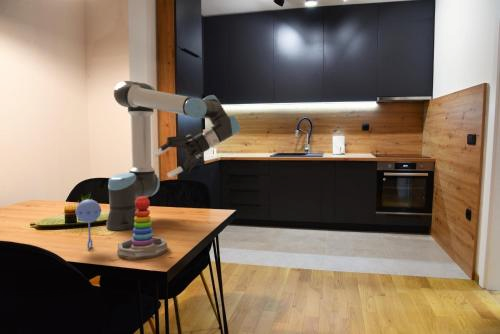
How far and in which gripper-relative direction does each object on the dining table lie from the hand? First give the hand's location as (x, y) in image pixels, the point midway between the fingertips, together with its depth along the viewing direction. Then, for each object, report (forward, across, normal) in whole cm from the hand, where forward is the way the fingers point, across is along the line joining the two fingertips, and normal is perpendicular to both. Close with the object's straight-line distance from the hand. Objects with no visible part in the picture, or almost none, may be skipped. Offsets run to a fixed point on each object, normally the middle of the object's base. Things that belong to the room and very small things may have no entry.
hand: (161, 165), depth 152 cm
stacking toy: (+20, +4, -30) cm, 37 cm away
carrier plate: (+20, +4, -31) cm, 37 cm away
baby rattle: (+37, +3, -18) cm, 41 cm away
